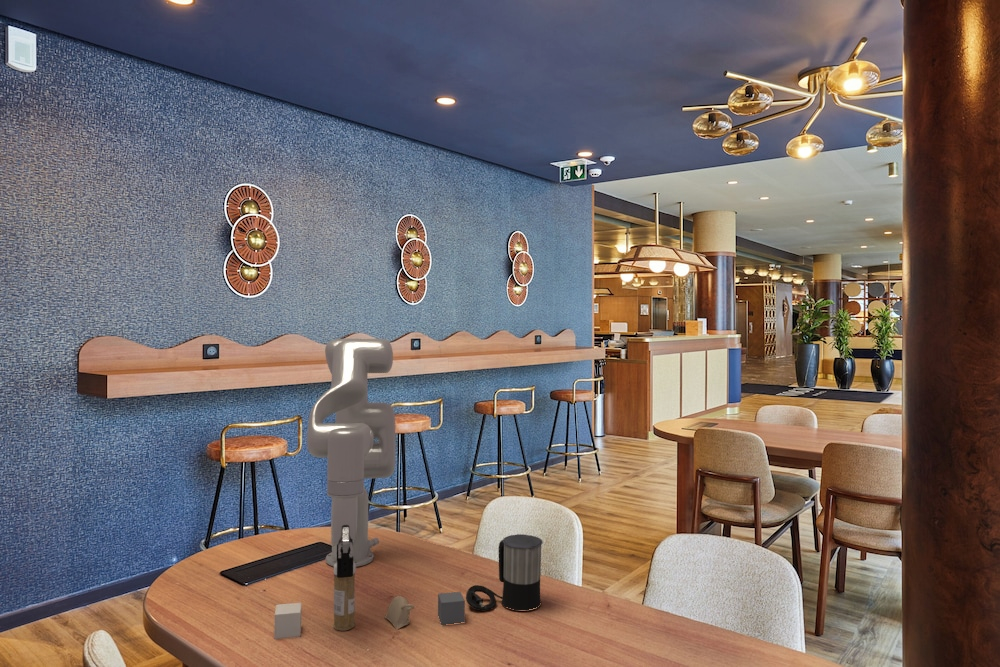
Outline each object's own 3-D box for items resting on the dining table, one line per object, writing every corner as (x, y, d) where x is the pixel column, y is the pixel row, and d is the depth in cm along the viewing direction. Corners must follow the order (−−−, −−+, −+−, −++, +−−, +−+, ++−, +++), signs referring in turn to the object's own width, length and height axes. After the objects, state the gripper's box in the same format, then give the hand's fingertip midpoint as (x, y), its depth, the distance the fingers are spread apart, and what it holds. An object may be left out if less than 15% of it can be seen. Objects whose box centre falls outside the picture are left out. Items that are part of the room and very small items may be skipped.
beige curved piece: (401, 613, 148) (402, 589, 148) (416, 628, 141) (417, 603, 141) (384, 617, 146) (384, 593, 146) (398, 632, 139) (398, 607, 139)
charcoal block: (437, 616, 147) (438, 593, 147) (460, 614, 148) (460, 591, 148) (441, 626, 142) (441, 602, 142) (464, 623, 143) (464, 600, 143)
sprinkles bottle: (358, 628, 140) (359, 564, 140) (337, 633, 138) (338, 568, 138) (350, 620, 144) (351, 558, 144) (329, 625, 142) (330, 562, 142)
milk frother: (550, 604, 154) (551, 540, 154) (503, 626, 142) (504, 557, 142) (505, 587, 164) (505, 526, 163) (457, 606, 152) (458, 541, 152)
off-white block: (276, 628, 140) (276, 604, 140) (301, 626, 141) (301, 602, 141) (274, 639, 135) (274, 614, 135) (300, 636, 136) (300, 612, 136)
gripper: (327, 479, 148) (326, 557, 148) (326, 497, 131) (325, 585, 131) (361, 478, 150) (361, 554, 150) (365, 495, 133) (364, 582, 133)
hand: (344, 568), depth 140 cm, fingers open, 9 cm apart
